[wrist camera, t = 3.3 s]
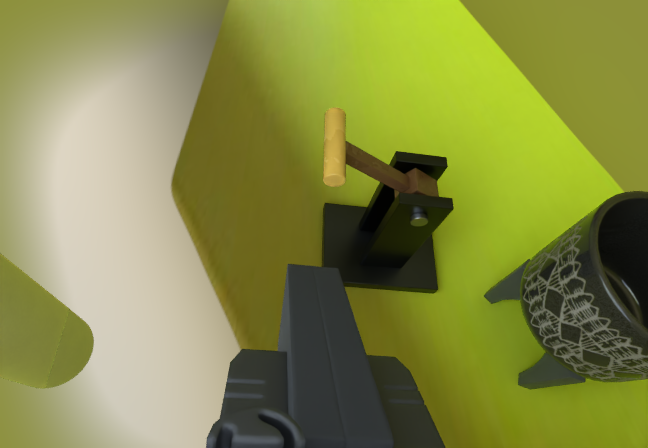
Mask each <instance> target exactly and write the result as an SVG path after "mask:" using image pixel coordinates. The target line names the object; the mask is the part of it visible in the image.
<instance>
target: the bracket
mask: <svg viewBox="0 0 648 448" xmlns="http://www.w3.org/2000/svg"><path fill="white" fill-rule="evenodd" d="M389 166H391V167H393V168H395V169H396V170H398V171H400V172H402V173H403V174H405V173H407V172H409V171H411V170H413V169H414V168H417V169H418V170H420V171H422V172H423V173H425V174H427V175H428V176H430V177H432V178H433V179H435V180H437V181H438V179H439V178H440V177H441V175H442V174H443V172H444V171H445V170H446V168H447V167H448V166H447V159H446V157H439V156H431V155H423V154H415V153H407V152H399V151H396V152H395V154H394V156H393V158H392V160H391V162H390V164H389ZM453 209H454V208H453V201H452V198H445V197H436V196H427V195H418V194H409V193H399V194H398V195H397V197H396V199H395V190H394V189H393V188H391V187H389V186H387V185H385V184H384V183H382V182H380V184H379V185H378V187H377V189H376V191H375V193H374V195H373V197H372V199H371V201H370V203H369V205H368V207H359V206H349V205H340V204H330V203H325V205H324V208H323V237H322V267H327V268H338V269H339V273H340V276H341V279H342V282H343V285H344V286H346V287H359V288H372V289H385V290H398V291H411V292H423V293H434V292H436V291H437V290H438V286H437V277H436V268H435V259H434V250H433V241H432V233H433V232H434V231H435V229H436V228H437V227H438V226H439V225H440V224H441V223H442V221H443V220H444V219H445V218H446V217H447V216H448V215H449V213H450V212H451V211H452V210H453Z"/></svg>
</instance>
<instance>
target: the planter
mask: <svg viewBox="0 0 648 448" xmlns="http://www.w3.org/2000/svg"><path fill="white" fill-rule="evenodd" d="M484 297H485V298H486V299H487V300H488V301H489V302H490V303H495V302H498V301H501V300H509V299H514V300H520V302H521V307H522V311H523V315H524V317H525V320H526V323H527V325H528V327H529V329H530V331H531V332H532V334H533V336H534V337H535V339H536V340H537V342H538V343H539V344H540V346H541V347H542V348H543V349H544V350H545V351H546V353H545V354H544V356H543V357H542V358H541V359H540V360H539V361H538V362H537V363H536V364H535V365H534V366H533V367H531V368H530V369H528V370H526V371H524V372H522V373H519V381H518V385H520V386H523V387H526V388H528V389H536V388H544V387H552V386H559V385H567V384H574V383H582V382H585V378H587V379H590V380H594V381H600V382H625V381H634V380H643V379H648V192H643V191H633V192H625V193H621V194H618V195H615V196H613V197H611V198H609V199H607V200H606V201H604V202H603V203H602V204H601V205H599V206H598V207H597V208H595V209H594V210H593V211H591V212H590V213H589V214H588V215H586V216H585V217H584V218H582V219H581V220H580V221H578V222H577V223H576V224H574V225H573V226H572V227H571V228H569V229H568V230H567V231H565V232H564V233H563V234H561V235H560V236H559V237H558V238H556V239H555V240H554V241H552V242H551V243H550V244H548V245H547V246H546V247H544V248H543V249H542V250H541V251H539V252H538V253H537V254H536V255H535V256H534V257H533V258H532V259H531V260H530V259H528V260H527V261H526V262H525V263H523V264H522V265H521V266H519V267H518V268H517V269H515V270H514V271H513V272H512V273H510V274H509V275H508V276H506V277H505V278H504V279H502V280H501V281H500V282H498V283H497V284H496V285H495V286H493V287H492V288H491V289H490V290H489V291H488V292H487V293H486V294H485V295H484Z"/></svg>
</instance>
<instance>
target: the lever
mask: <svg viewBox="0 0 648 448" xmlns="http://www.w3.org/2000/svg"><path fill="white" fill-rule="evenodd" d="M346 164H348V165H350V166H351V167H353V168H355V169H357V170H359V171H361V172H363V173H365V174H367V175H368V176H370V177H372V178H374V179H376V180H378V181H380V182H382V183H384V184H385V185H387V186H389V187H391V188H393V189H394V190H395V199H396V197H397V195H398V194H399V193H409V194H418V195H427V196H436V197H439V195H438V187H437V180H435V179H433V178H432V177H430V176H428V175H427V174H425V173H423V172H422V171H420V170H418V169H417V168H414V169H413V170H411V171H409V172H407V173H405V174H403V173H402V172H400V171H398V170H396V169H395V168H393V167H391V166H389V165H388V164H386V163H384V162H382V161H380V160H379V159H377V158H375V157H373V156H372V155H370V154H368V153H366V152H365V151H363V150H361V149H359V148H358V147H356V146H354V145H352V144H351V143H349V142H347V141H346V114H345V112H344V111H343V110H342V109H340V108H330V109H328V110H327V111H326V113H325V127H324V166H323V181H324V183H325V184H326V185H328V186H331V187H338V186H341V185H343V184H344V183H345V182H346Z"/></svg>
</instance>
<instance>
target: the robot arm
mask: <svg viewBox="0 0 648 448" xmlns="http://www.w3.org/2000/svg"><path fill="white" fill-rule="evenodd" d="M206 445H207V446H206V448H445V446H444V443H443V441H442V439H441V437H440V435H439V433H438V431H437V428H436V426H435V424H434V422H433V420H432V418H431V415H430V413H429V411H428V409H427V407H426V405H424V400H423V398H422V396H421V394H420V392H419V391H418V387H417V385H416V383H415V381H414V379H413V377H412V374H411V372H410V371H409V370H408V369H407V368H406V367H405V366H404V365H403V364H402V363H401V362H400V361H399V360H398V359H397V358H396V357H388V356H372V355H366V352H365V349H364V346H363V343H362V340H361V337H360V334H359V331H358V328H357V325H356V322H355V319H354V315H353V312H352V309H351V306H350V303H349V300H348V297H347V294H346V291H345V288H344V285H343V282H342V279H341V276H340V273H339V269H338V268H327V267H316V266H305V265H294V264H288V267H287V275H286V284H285V292H284V300H283V308H282V317H281V325H280V333H279V342H278V351H266V350H250V349H242V350H241V351H240V352H239V354H238V355H237V356H236V357H235V358H234V359H233V360H232V361H231V362H230V367H229V372H228V378H227V383H226V389H225V394H224V399H223V404H222V410H221V415H220V419H219V420H218V421H217V422H215V424H213V426H212V428H211V430H210V433H209V435H208V437H207V444H206Z"/></svg>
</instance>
